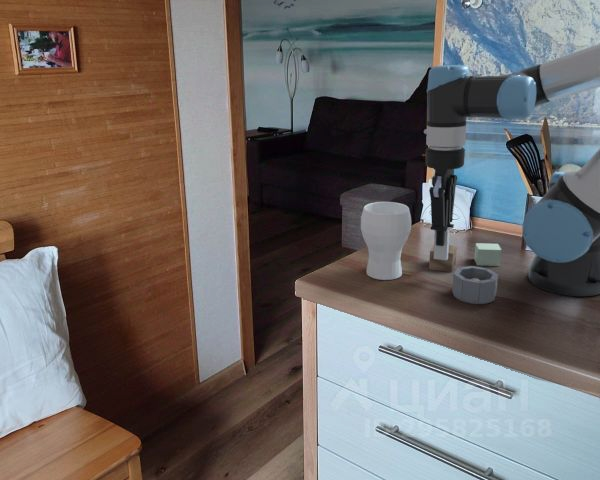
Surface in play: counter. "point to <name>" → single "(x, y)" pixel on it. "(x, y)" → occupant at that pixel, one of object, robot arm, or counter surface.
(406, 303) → the counter surface
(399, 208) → the cup
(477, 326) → the counter surface
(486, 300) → the ramekin
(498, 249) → the sage block
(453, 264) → the walnut box
